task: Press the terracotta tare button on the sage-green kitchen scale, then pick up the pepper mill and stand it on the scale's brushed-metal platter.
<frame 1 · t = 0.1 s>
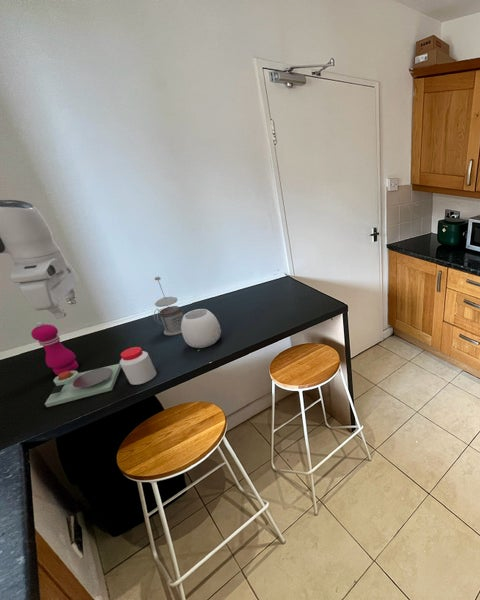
hand: (67, 310, 89), 31 cm above the countertop, tool pointing down, fingers open, 8 cm apart
french press: (175, 330, 137), on the countertop
pill bottle: (143, 377, 110), on the countertop
tare button: (65, 375, 105), point 3 cm above the countertop, slide at 0.1 cm
pepper mill: (67, 370, 113), on the countertop
scale: (87, 385, 106), on the countertop
scale top: (93, 378, 105), resting on scale
white round vase: (205, 342, 129), on the countertop
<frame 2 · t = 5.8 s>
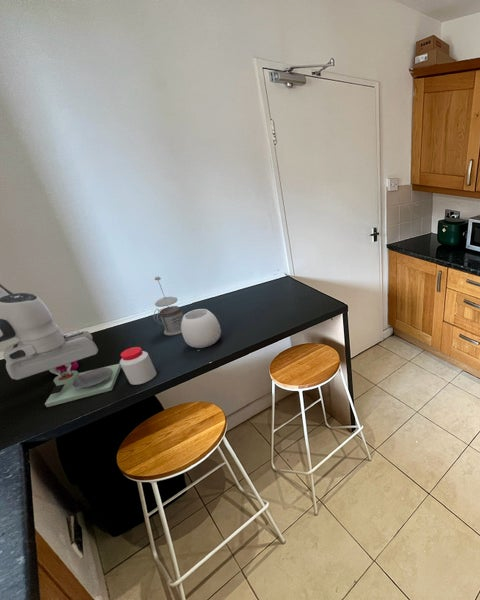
hand: (66, 375, 105), 3 cm above the countertop, tool pointing down, fingers closed, pressing on tare button
tare button: (66, 377, 106), point 3 cm above the countertop, slide at -0.7 cm, touching gripper
everything else where it was.
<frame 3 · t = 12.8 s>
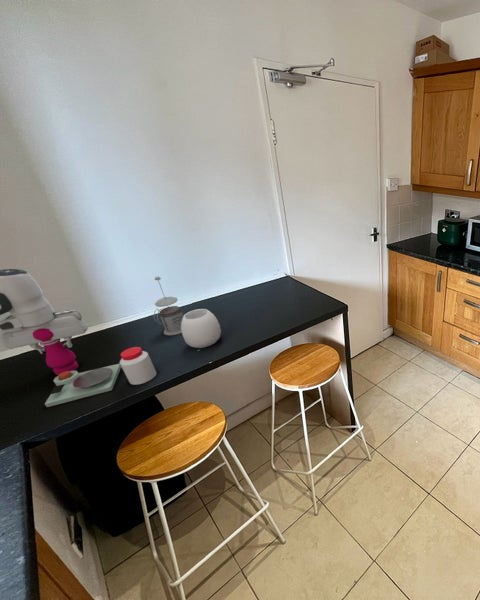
hand: (57, 349, 110), 9 cm above the countertop, tool pointing down, fingers open, 5 cm apart
tare button: (65, 375, 105), point 3 cm above the countertop, slide at 0.1 cm
pepper mill: (67, 370, 113), on the countertop, touching arm, gripper
everything else where it was.
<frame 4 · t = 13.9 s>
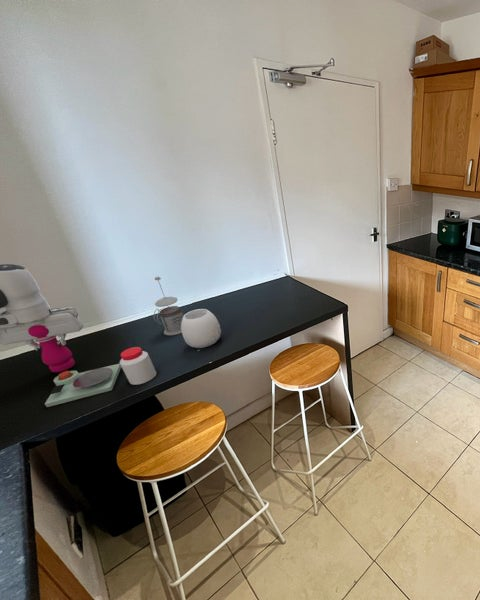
hand: (51, 347, 108), 10 cm above the countertop, tool pointing down, fingers closed on pepper mill, 4 cm apart
pepper mill: (63, 367, 112), point 1 cm above the countertop, touching arm, gripper
everything else where it was.
when the fingers open (12 cm above the countertop, at t = 20.3 s): pepper mill stays where it is, resting on scale top.
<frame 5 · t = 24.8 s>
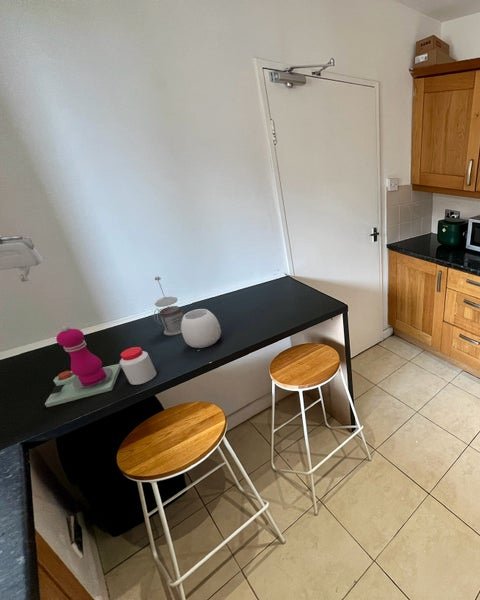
hand: (5, 283, 95), 35 cm above the countertop, tool pointing down, fingers open, 8 cm apart
pepper mill: (93, 377, 105), point 3 cm above the countertop, touching scale top
everything else where it was.
at the end: tare button pushed in 0.9 cm at the most during the clip, back to where it started at the end; tare button slide at 0.1 cm; pepper mill 0.0 cm off-centre on the scale top, point 0.2 cm above the scale top's base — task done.
